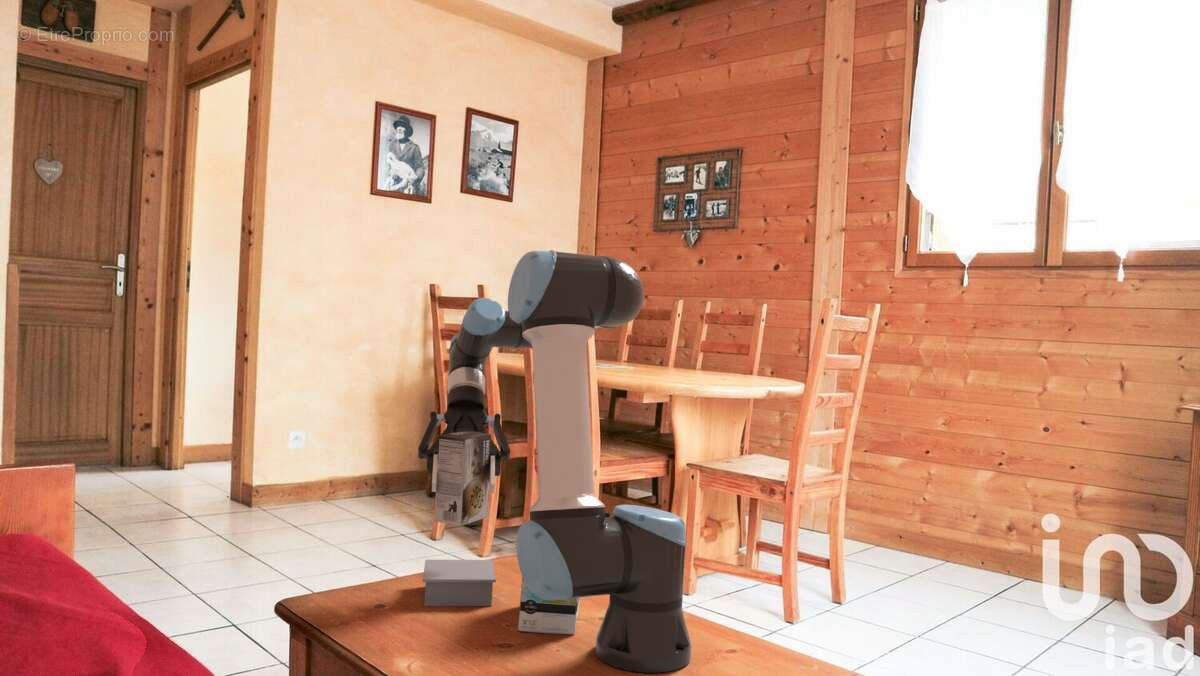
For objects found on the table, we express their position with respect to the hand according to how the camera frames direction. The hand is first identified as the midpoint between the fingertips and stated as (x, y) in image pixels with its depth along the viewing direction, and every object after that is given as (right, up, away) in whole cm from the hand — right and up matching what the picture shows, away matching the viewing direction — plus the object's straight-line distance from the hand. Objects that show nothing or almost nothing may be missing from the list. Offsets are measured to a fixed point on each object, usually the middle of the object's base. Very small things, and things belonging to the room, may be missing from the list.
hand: (463, 488), depth 159 cm
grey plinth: (-2, -21, +3) cm, 21 cm away
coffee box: (-1, -7, +3) cm, 7 cm away
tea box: (+16, -22, -7) cm, 28 cm away
